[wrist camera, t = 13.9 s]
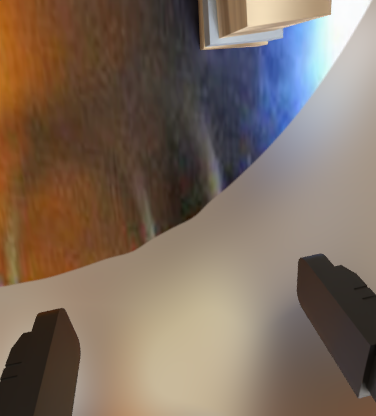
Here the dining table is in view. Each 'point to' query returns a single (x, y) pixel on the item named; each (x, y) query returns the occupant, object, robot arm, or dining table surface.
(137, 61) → the dining table surface
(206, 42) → the tower mid
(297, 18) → the maple block
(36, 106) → the dining table surface
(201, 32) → the tower base
